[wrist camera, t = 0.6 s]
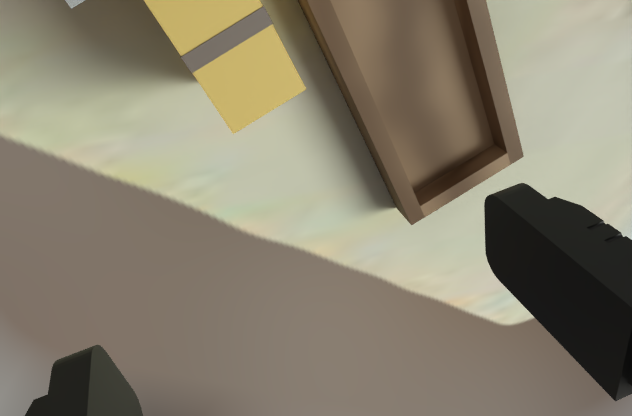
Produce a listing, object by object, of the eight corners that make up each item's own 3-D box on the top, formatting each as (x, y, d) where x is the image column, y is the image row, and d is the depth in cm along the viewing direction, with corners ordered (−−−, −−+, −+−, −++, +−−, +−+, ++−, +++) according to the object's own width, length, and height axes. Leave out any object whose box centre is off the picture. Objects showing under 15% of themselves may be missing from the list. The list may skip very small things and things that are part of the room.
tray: (424, -149, 24) (449, -152, 22) (503, 142, 35) (523, 156, 33) (271, -55, 24) (283, -51, 22) (396, 208, 35) (411, 225, 33)
